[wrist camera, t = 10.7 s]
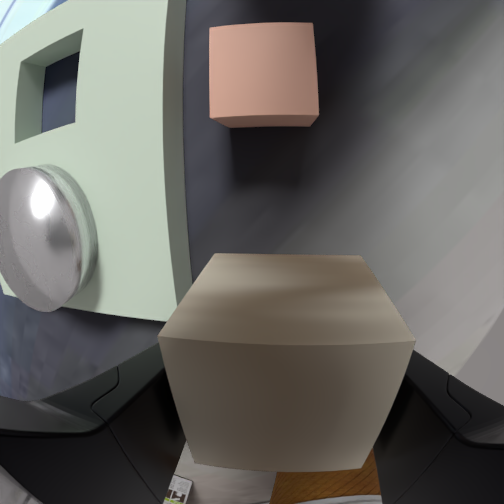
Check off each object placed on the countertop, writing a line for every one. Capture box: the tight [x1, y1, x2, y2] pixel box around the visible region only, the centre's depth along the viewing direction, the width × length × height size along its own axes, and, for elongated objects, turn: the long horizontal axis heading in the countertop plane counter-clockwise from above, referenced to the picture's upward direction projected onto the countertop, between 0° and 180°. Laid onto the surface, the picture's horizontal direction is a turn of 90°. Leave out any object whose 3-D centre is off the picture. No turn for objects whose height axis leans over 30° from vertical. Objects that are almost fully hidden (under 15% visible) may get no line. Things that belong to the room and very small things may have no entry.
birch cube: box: [158, 253, 416, 472], centre depth 7 cm, size 4×4×4 cm
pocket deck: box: [0, 0, 192, 321], centre depth 15 cm, size 18×22×3 cm
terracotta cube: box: [209, 22, 319, 128], centre depth 12 cm, size 4×4×4 cm
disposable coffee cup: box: [269, 448, 382, 504], centre depth 16 cm, size 10×10×12 cm
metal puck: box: [0, 164, 98, 312], centre depth 14 cm, size 9×9×2 cm
